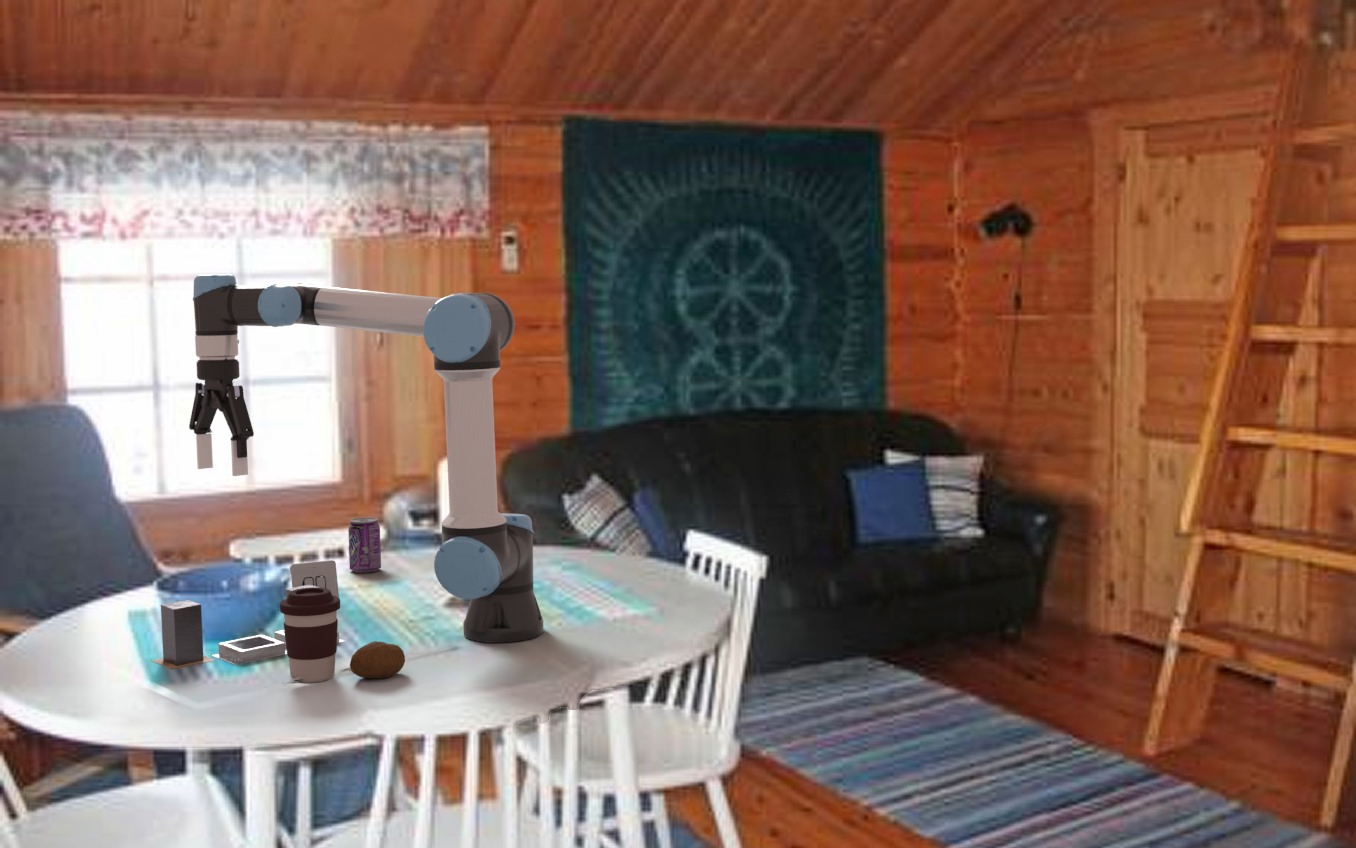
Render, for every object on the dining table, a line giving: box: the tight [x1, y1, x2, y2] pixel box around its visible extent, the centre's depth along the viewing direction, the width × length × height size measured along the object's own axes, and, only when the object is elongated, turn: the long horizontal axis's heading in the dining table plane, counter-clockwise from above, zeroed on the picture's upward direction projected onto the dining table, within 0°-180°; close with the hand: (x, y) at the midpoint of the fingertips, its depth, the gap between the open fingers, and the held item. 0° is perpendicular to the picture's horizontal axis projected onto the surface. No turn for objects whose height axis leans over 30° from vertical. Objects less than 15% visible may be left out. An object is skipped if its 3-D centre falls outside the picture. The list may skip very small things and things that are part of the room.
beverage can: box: [347, 516, 382, 574], centre depth 328 cm, size 7×7×12 cm
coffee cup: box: [279, 587, 341, 684], centre depth 242 cm, size 10×10×15 cm
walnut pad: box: [151, 654, 216, 670], centre depth 250 cm, size 8×8×1 cm
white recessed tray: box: [211, 629, 346, 666], centre depth 258 cm, size 9×22×3 cm, turn 135°
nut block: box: [160, 599, 204, 666], centre depth 250 cm, size 5×5×10 cm
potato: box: [349, 640, 406, 679], centre depth 242 cm, size 7×10×6 cm
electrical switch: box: [289, 559, 340, 598], centre depth 295 cm, size 9×5×9 cm, turn 116°
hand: (222, 471), depth 266 cm, fingers open, 13 cm apart
